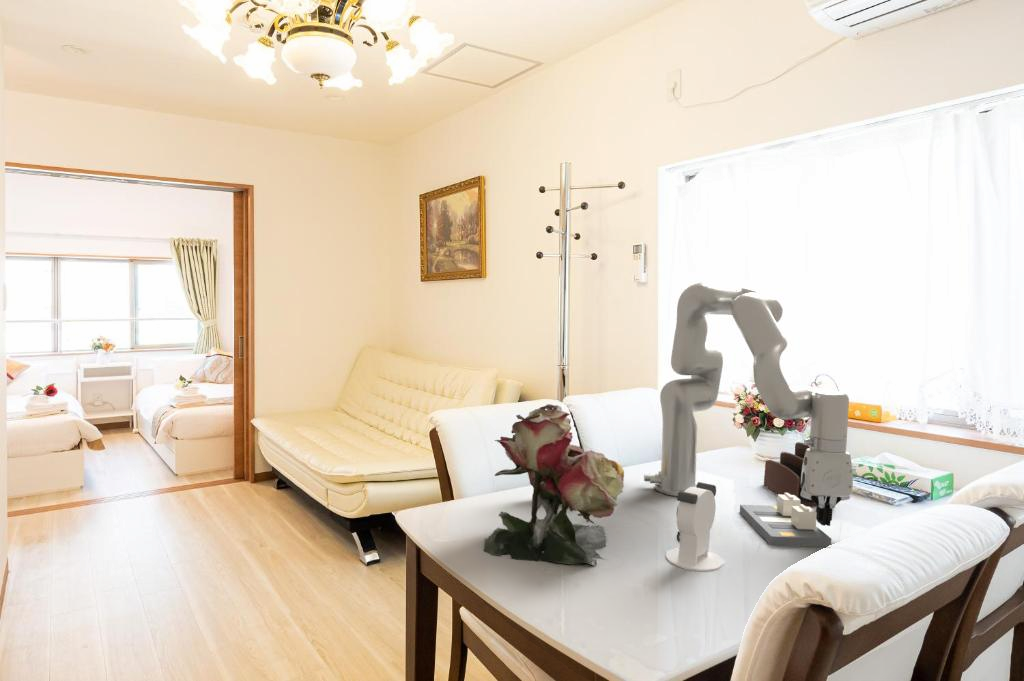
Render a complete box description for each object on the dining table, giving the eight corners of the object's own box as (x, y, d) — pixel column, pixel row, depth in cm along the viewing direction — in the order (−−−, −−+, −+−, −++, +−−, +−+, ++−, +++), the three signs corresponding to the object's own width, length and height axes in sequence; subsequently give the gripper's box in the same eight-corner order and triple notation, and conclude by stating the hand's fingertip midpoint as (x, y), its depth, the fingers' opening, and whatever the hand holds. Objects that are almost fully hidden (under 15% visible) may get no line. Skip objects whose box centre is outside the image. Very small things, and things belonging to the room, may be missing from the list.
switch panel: (771, 545, 141) (771, 535, 141) (739, 512, 163) (740, 504, 163) (830, 547, 141) (831, 538, 140) (791, 514, 163) (791, 506, 162)
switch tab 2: (797, 529, 145) (798, 509, 145) (790, 522, 149) (791, 503, 149) (815, 529, 145) (816, 509, 145) (808, 523, 149) (809, 504, 149)
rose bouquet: (620, 571, 126) (625, 420, 124) (476, 556, 131) (479, 412, 129) (623, 526, 151) (627, 400, 149) (502, 516, 156) (505, 394, 154)
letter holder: (795, 485, 189) (798, 438, 188) (832, 507, 170) (835, 455, 169) (763, 485, 189) (765, 438, 188) (796, 507, 169) (799, 454, 168)
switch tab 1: (782, 515, 154) (783, 497, 154) (776, 510, 158) (777, 492, 158) (799, 516, 154) (800, 497, 154) (793, 510, 158) (794, 492, 158)
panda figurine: (681, 544, 141) (684, 477, 140) (732, 558, 133) (735, 487, 132) (656, 560, 131) (659, 488, 130) (709, 576, 124) (713, 500, 123)
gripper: (801, 447, 142) (797, 528, 143) (869, 449, 142) (864, 530, 143) (788, 440, 150) (784, 517, 151) (852, 442, 149) (848, 519, 150)
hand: (823, 523), depth 147 cm, fingers closed
